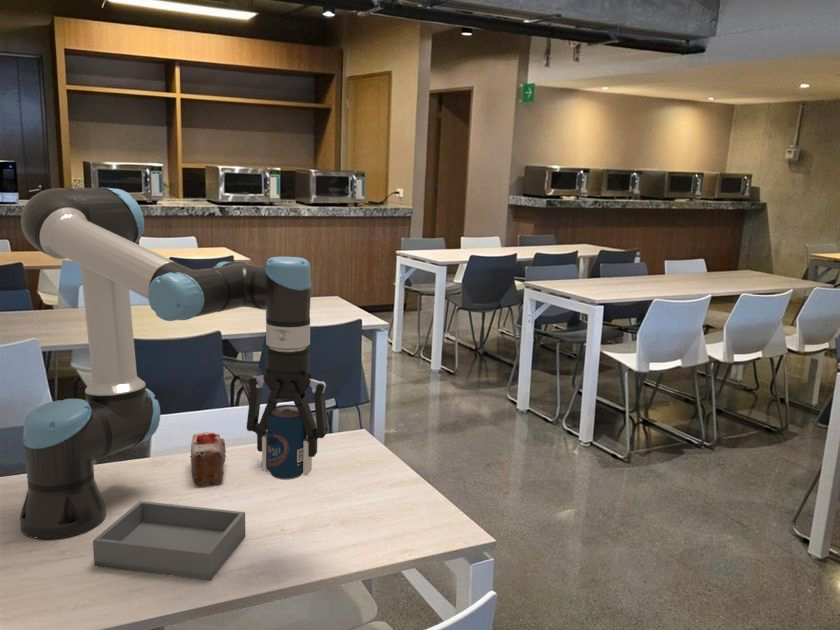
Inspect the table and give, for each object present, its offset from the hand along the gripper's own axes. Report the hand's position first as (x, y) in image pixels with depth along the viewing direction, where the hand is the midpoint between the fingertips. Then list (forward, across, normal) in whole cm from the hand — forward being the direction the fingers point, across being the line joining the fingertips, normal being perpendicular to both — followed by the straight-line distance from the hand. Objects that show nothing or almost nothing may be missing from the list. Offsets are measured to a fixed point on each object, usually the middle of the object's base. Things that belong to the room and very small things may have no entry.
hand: (286, 470), depth 130 cm
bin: (+17, -21, -3) cm, 27 cm away
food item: (+17, -29, +30) cm, 45 cm away
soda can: (+1, 0, 0) cm, 1 cm away
